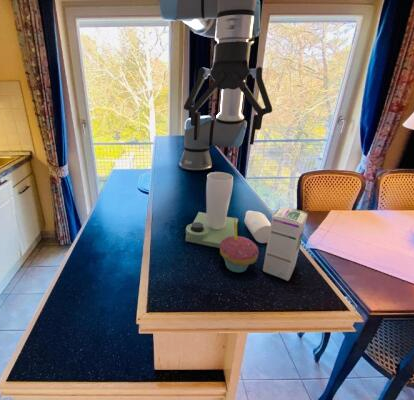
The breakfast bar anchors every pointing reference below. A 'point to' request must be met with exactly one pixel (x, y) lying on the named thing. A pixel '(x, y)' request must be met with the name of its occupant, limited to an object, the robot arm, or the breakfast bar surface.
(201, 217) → the scale
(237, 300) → the breakfast bar surface
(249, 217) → the roll
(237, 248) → the cupcake
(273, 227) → the syrup box
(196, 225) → the button
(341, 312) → the breakfast bar surface
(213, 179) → the drinking glass
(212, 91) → the robot arm
